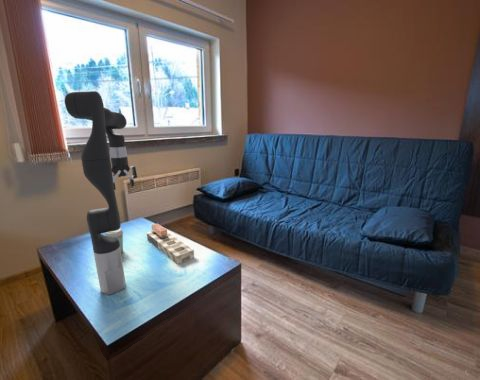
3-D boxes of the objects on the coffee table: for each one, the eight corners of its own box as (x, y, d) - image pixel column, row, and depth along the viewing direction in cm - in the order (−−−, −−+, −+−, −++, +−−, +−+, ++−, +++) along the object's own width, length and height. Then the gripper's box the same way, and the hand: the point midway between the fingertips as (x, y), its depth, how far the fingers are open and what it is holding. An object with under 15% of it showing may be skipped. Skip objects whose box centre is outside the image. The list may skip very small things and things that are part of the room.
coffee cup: (103, 253, 131) (100, 232, 128) (118, 246, 139) (115, 225, 136) (115, 257, 128) (111, 235, 125) (129, 250, 135) (126, 228, 132)
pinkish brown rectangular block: (168, 244, 141) (166, 229, 138) (162, 246, 138) (160, 231, 136) (159, 237, 150) (157, 223, 147) (153, 238, 147) (151, 225, 145)
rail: (194, 257, 126) (193, 250, 125) (177, 264, 121) (176, 256, 120) (162, 234, 153) (161, 228, 152) (146, 239, 147) (146, 232, 146)
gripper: (105, 158, 120) (110, 192, 124) (136, 155, 129) (140, 186, 133) (101, 156, 125) (106, 189, 130) (131, 154, 134) (134, 184, 139)
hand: (123, 188), depth 131 cm, fingers open, 8 cm apart
